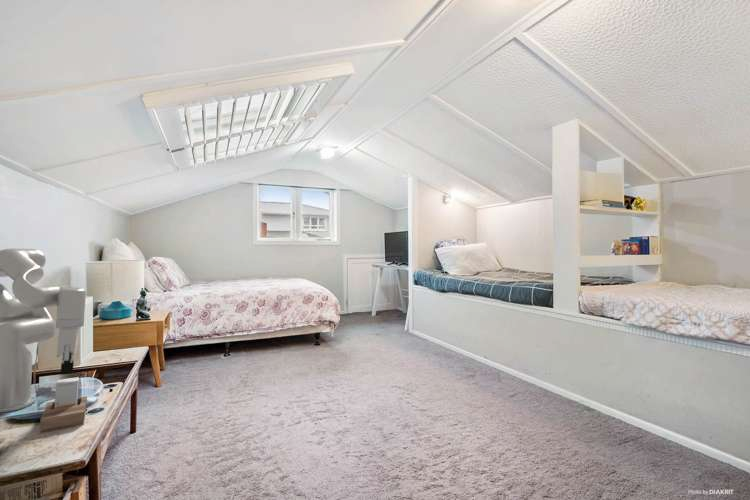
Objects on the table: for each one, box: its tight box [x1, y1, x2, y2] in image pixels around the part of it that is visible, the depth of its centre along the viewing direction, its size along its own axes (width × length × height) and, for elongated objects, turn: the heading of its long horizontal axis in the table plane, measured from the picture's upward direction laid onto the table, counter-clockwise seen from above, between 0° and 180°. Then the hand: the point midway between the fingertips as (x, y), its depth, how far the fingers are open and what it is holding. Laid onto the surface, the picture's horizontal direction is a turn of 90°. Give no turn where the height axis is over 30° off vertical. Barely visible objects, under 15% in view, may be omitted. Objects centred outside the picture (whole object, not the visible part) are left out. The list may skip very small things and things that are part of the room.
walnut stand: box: [39, 396, 88, 434], centre depth 123 cm, size 14×11×4 cm
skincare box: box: [54, 376, 80, 409], centre depth 125 cm, size 6×4×12 cm
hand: (66, 373), depth 125 cm, fingers closed
